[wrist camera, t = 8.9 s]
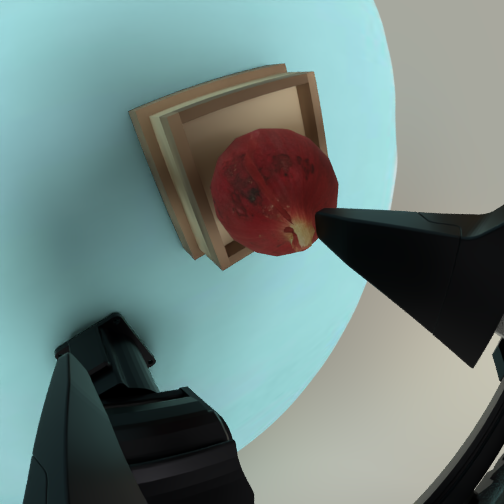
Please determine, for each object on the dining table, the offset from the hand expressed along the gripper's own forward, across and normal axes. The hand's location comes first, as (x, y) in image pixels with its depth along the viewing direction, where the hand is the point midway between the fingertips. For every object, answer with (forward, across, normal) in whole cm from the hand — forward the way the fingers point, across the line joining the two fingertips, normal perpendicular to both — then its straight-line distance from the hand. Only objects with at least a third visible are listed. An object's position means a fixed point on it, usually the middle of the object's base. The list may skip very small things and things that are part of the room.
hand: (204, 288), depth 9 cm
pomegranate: (+8, -7, 0) cm, 10 cm away
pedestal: (+12, -7, 0) cm, 14 cm away
